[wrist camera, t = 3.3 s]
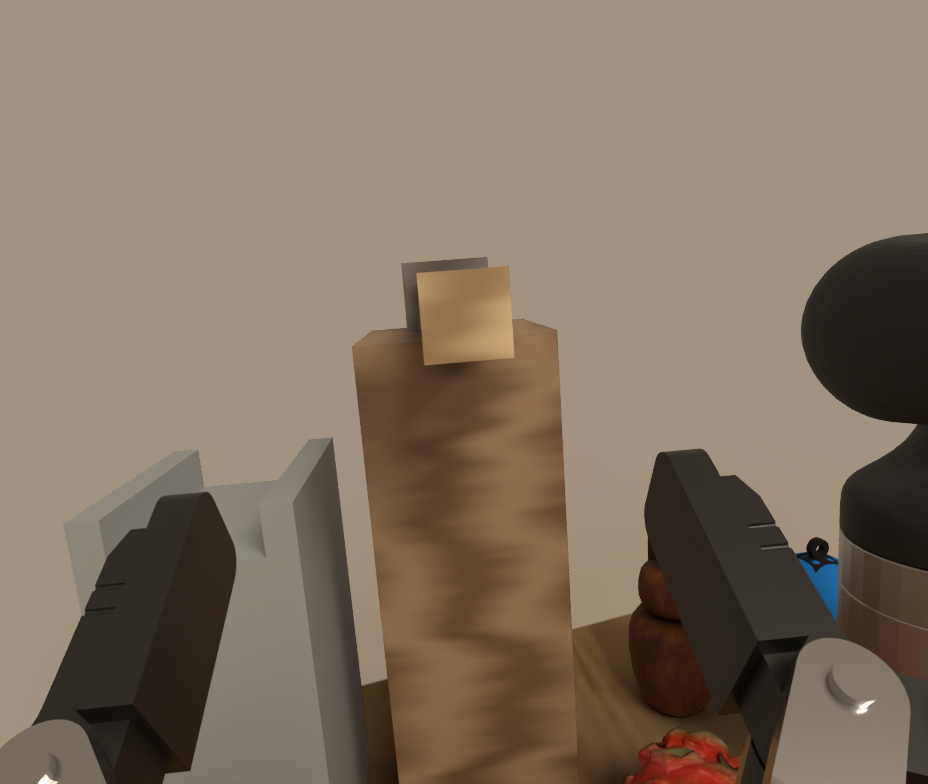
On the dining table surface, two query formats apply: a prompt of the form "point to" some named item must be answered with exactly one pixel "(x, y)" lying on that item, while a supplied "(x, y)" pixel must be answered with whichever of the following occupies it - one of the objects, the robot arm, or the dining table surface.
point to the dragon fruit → (686, 760)
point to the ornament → (822, 571)
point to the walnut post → (471, 558)
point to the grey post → (262, 621)
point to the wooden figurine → (663, 648)
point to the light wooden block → (459, 309)
